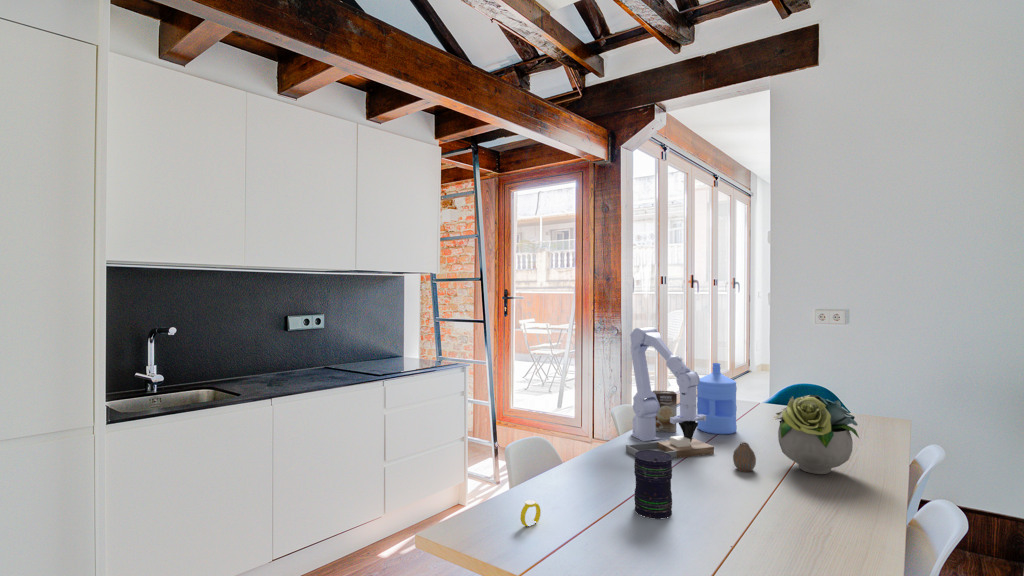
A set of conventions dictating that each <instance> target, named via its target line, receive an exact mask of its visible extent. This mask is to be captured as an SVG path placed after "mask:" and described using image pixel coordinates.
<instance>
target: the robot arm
mask: <svg viewBox="0 0 1024 576" xmlns="http://www.w3.org/2000/svg"><path fill="white" fill-rule="evenodd" d="M629 336H630V343H631V344H630V354H631V360H632V366H633V372H634V379H635V386H636V391H637V392H636V393H635V395H634V396H633V398H632V399H633V404H632V410H633V412H634V415H633V417H632V433H630V435H631V437H634V438H636V439H637V440H640V441H641V442H649V441H650V442H651V441H656V440H658V441H659V440H661V437H658V436H656V434H657V433H656V432H657V431H656V415H657V412H658V411H659V409H660V405H659V402H658V400H657V398H656V394H655V393H653V390H652V387H651V386H652V385H651V381H650V374H649V368H648V363H647V362H648V361H647V356H646V351H647V350H648V348H649V347H653V348H654V349H655V350H656V352H658V354H659V355H661V357H662V358H663V359H664V360H665V361H666V362H665V363H666V364H665V365H666V367H667V368H668V369H669V370H670V372H671V373H672V375H674V376H675V378H676V379H675V380H676V385H677V386H678V390H679V415H677V416H675V417H670V423H672V424H675V423H676V424H678V426H679V427H680V429H681V431H682V434H683V436H684V437H686V438H688V439H690V442H691V441H692V438H694V434H695V431H696V430H697V429H698V428H697V426H698V423H697V421H702V420H703V421H706V415H703V414H700V415H697V385H698V384H699V382H700V378H701V377H700V376H699V374H698V372H697V371H694V370H692V369H691V368H690V367H688V366H687V364H685V362H684V361H683V358H682V356H681V357H680V356H679V355H674V354H673V352H672V350H670V348H669V346H667V344H666V343H665V341H664V340H663V338H662V337H661V333H660V332H659V331H658V329H657V328H655V327H653V326H650V327H636V328H634V329H633V330H632V331H631V333H630V335H629Z"/></svg>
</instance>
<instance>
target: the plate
mask: <svg viewBox="0 0 1024 576" xmlns="http://www.w3.org/2000/svg"><path fill="white" fill-rule="evenodd" d="M657 442H658V448H659V449H661V450H663V451H665V452H669V451H677V458H676V459H683V458H689V457H698V455H699V456H706V455H714V454H715V447H714V446H713V445H711V444H709V443H706V442H703V441H701V440H698V439H696V438H694V437H692V441H691V442H690V446H687V447H677V446H674V445H672V444H670V439H668V440H662V441H659V440H658V441H657Z"/></svg>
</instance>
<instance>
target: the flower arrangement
mask: <svg viewBox="0 0 1024 576" xmlns="http://www.w3.org/2000/svg"><path fill="white" fill-rule="evenodd" d="M788 399H789V401H788V403H787V406H785V407H784V408H782V409H781V411H779V412H776V413H775V416H774V417H773V418H772V420H773V421H774V420H775V421H776V420H779V421H778V422H779V427H778V430H777V434H778V435H777V436H778V444H779V447H780V450H781V452H782V453H783V455H785V456H786V457H787V458H788V459H789V460H791V461H793V462H794V463H796V464H797V465H798V468H799V469H800V470H801V471H803V472H807V473H809V474H814V475H827V474H829V473H831V469H833V468H838V467H840V466H842V465H843V464H845V463H847V462H848V461H849V460H850V457H851V455H852V454H853V444H854V443H853V437H852V434H851V432H852V433H853V434H854V435H855V436H856V437H857V438H858V439H860V436H859V434H858V432H857V430H856V429H855V428H854V427H852V426H849V425H851V424H852V425H853V426H858V422H857V421H856V420H855V416H854V415H852V414H851V413H850V412H849V410H847V409H846V408H845V407H843V406H842V405H841V401H839V399H838V400H834V401H831V400H830V399H828V398H827V399H825V398H823V397H822V396H819V395H817V394H813V395H812V394H809V395H804V396H800V397H796V398H794V396H793V395H792V396H791V397H790V398H788Z"/></svg>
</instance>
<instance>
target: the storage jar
mask: <svg viewBox="0 0 1024 576" xmlns="http://www.w3.org/2000/svg"><path fill="white" fill-rule="evenodd" d="M672 461H673V459H672V456H671V455H670V454H668V453H665V452H661V451H655V450H642V451H638V452H636V453H635V457H634V466H633V467H634V468H633V469H634V476H635V488H634V496H633V497H634V499H633V500H634V512H635V511H636V512H637V513H638V514H637V513H636V512H635V513H636V514H637V515H639V514H640V515H642V516H641V517H643V516H645V517H644V518H646V517H649V518H648V519H650V518H655V519H654V520H662V519H661V518H665V519H667V517H668V518H670V517H671V516H672V515H673V511H672V508H673V492H672V479H673V462H672ZM640 515H639V516H640Z"/></svg>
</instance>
